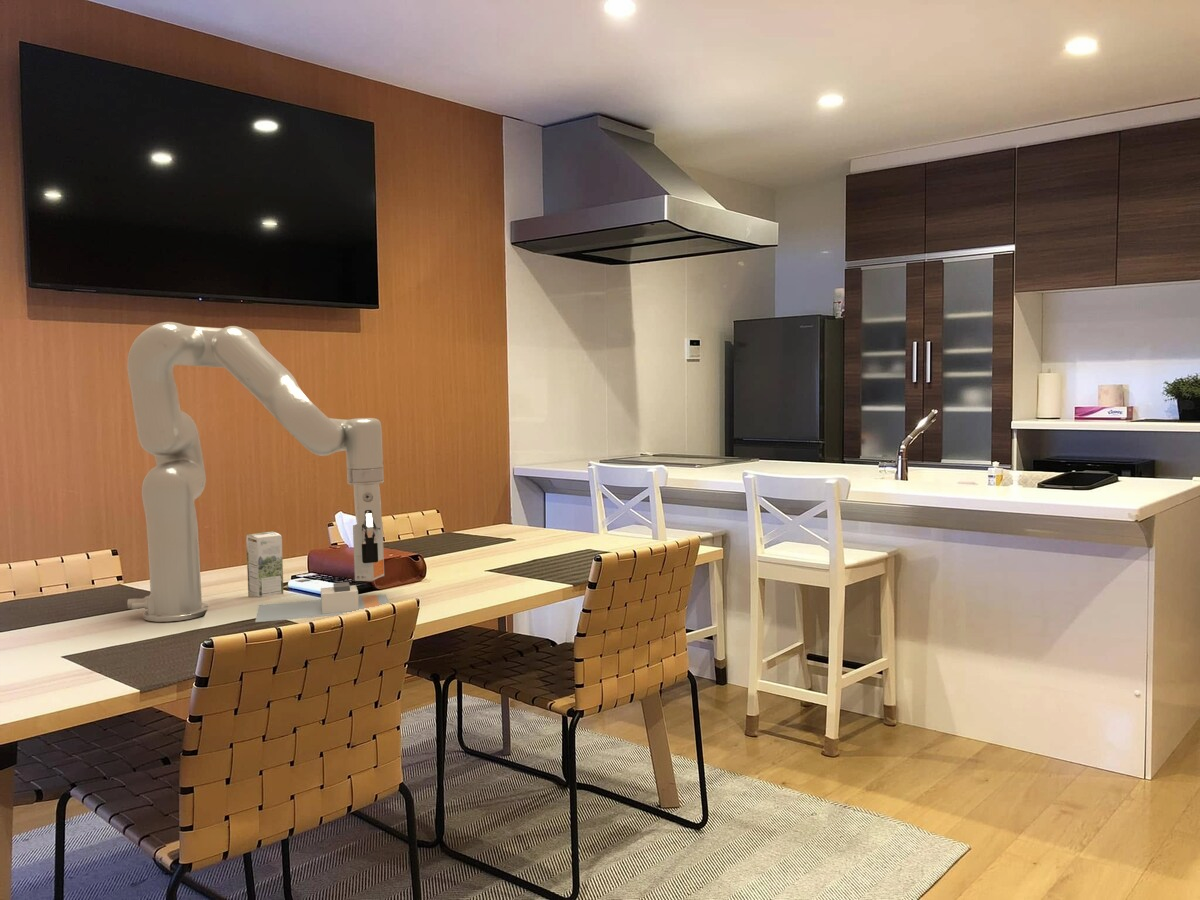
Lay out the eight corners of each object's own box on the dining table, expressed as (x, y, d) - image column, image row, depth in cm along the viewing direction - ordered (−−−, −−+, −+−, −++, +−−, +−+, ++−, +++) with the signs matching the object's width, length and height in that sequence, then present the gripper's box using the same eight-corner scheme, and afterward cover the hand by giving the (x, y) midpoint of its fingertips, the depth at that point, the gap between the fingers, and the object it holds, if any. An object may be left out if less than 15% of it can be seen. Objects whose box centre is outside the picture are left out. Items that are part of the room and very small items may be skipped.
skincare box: (373, 581, 194) (370, 525, 193) (354, 581, 195) (351, 525, 194) (385, 575, 200) (383, 520, 199) (367, 575, 201) (364, 520, 200)
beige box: (322, 614, 184) (321, 589, 184) (321, 607, 190) (320, 583, 190) (358, 610, 187) (357, 586, 186) (356, 604, 192) (355, 580, 192)
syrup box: (272, 594, 209) (270, 530, 208) (284, 598, 204) (281, 533, 203) (248, 598, 205) (245, 533, 204) (259, 602, 200) (256, 536, 199)
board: (255, 628, 179) (255, 622, 179) (259, 610, 193) (258, 604, 193) (392, 615, 187) (392, 609, 187) (386, 599, 201) (385, 594, 201)
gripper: (387, 479, 189) (390, 565, 190) (380, 472, 205) (383, 551, 206) (349, 481, 186) (352, 568, 188) (345, 473, 203) (349, 553, 204)
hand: (369, 558), depth 197 cm, fingers closed on skincare box, 7 cm apart
